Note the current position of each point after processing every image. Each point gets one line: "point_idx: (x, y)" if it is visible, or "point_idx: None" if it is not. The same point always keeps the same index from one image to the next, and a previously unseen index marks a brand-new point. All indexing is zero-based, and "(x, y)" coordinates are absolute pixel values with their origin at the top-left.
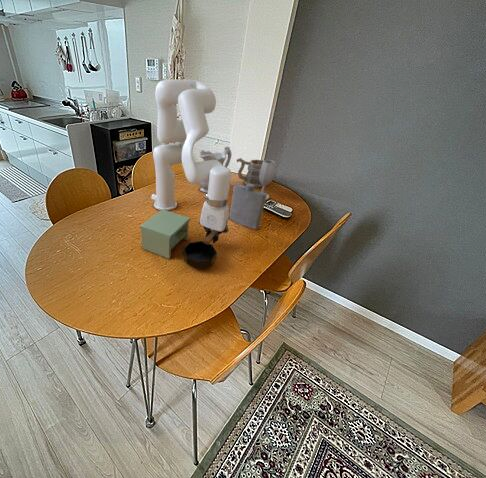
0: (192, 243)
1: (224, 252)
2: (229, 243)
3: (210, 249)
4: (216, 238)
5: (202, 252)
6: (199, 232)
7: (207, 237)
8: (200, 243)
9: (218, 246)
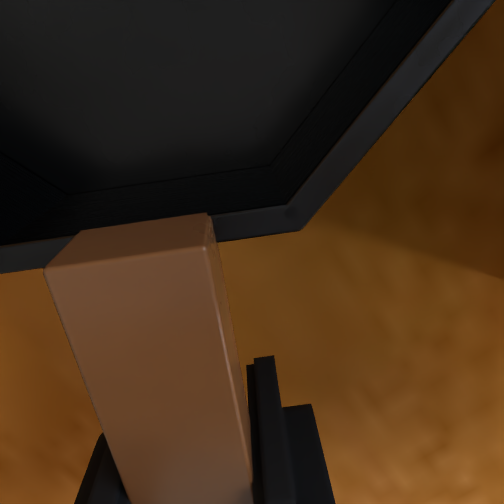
0: (440, 5)
1: (26, 349)
2: None
3: (60, 206)
4: (94, 479)
5: (153, 67)
6: (460, 452)
7: (203, 394)
8: (282, 187)
9: None
